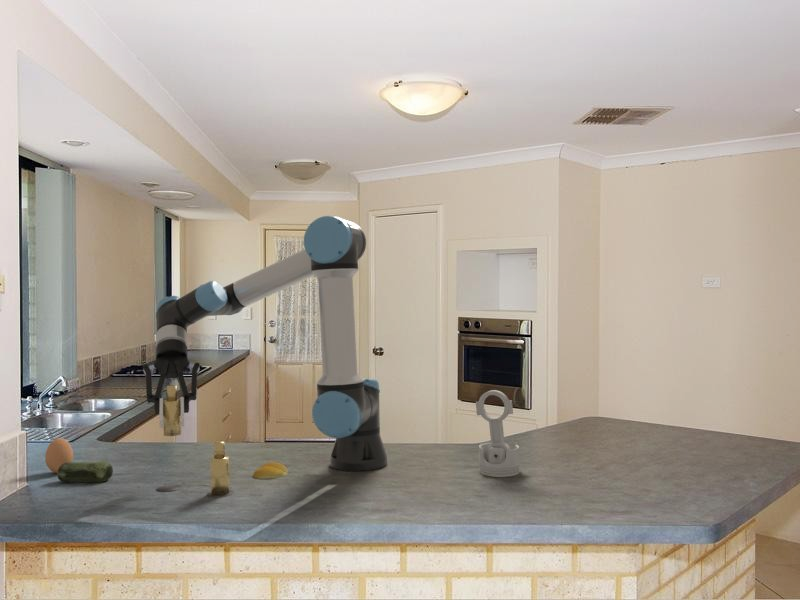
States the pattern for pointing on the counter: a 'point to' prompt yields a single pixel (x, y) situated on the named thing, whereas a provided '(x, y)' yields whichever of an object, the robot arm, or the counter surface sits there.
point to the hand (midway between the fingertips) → (171, 423)
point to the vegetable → (84, 472)
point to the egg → (58, 454)
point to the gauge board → (177, 487)
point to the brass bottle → (171, 412)
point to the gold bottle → (219, 470)
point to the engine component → (497, 442)
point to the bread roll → (270, 471)
